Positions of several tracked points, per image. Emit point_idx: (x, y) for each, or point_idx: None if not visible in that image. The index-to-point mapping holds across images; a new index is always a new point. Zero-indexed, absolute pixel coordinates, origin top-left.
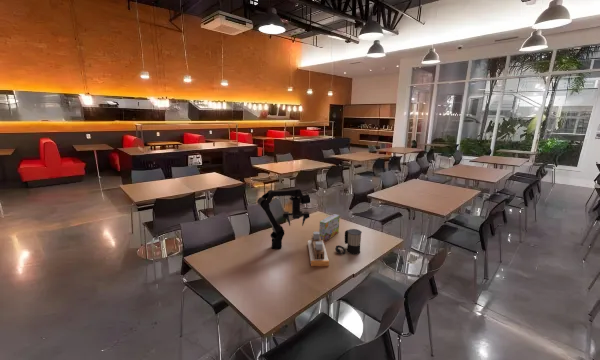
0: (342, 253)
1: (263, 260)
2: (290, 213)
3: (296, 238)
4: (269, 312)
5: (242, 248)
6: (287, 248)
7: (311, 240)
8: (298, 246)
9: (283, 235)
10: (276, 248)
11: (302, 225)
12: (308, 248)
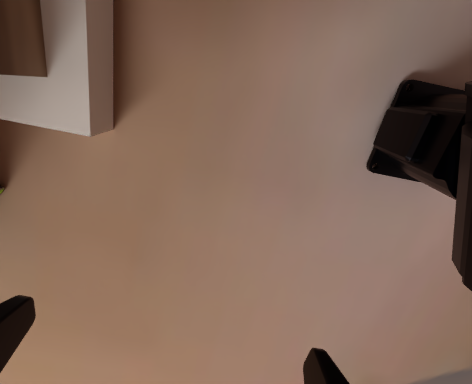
0: None
1: None
2: None
3: (200, 252)
4: None
5: None
6: (330, 80)
7: (48, 120)
8: (211, 99)
9: (470, 130)
10: (450, 88)
11: (18, 304)
12: (112, 20)
